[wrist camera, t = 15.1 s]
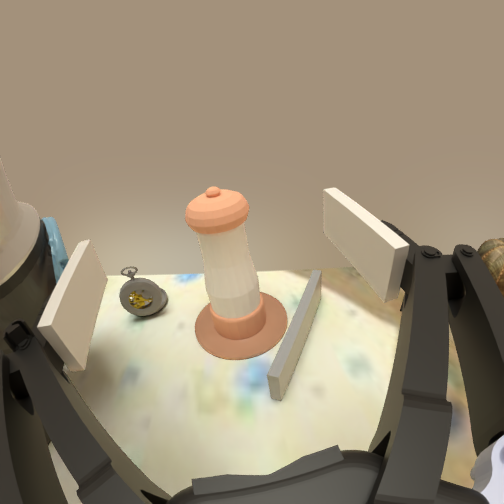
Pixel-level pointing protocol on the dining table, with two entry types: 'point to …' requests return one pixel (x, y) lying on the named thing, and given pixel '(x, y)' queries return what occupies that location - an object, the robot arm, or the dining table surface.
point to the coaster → (244, 347)
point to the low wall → (295, 338)
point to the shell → (494, 260)
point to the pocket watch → (141, 295)
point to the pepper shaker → (227, 262)
